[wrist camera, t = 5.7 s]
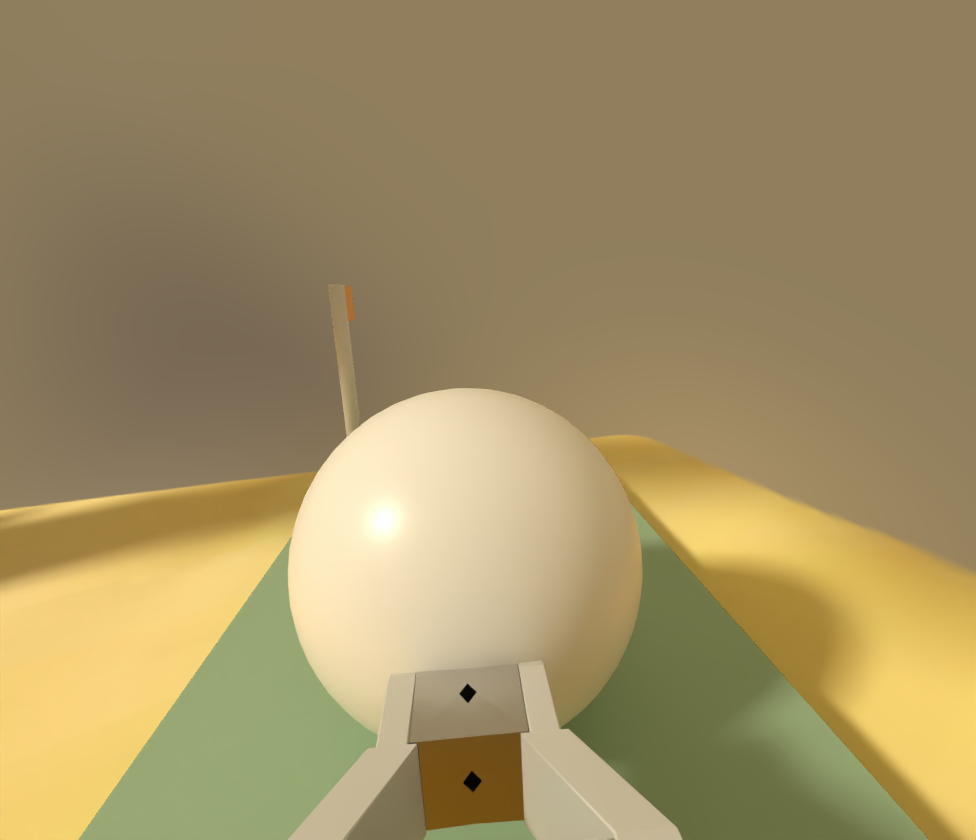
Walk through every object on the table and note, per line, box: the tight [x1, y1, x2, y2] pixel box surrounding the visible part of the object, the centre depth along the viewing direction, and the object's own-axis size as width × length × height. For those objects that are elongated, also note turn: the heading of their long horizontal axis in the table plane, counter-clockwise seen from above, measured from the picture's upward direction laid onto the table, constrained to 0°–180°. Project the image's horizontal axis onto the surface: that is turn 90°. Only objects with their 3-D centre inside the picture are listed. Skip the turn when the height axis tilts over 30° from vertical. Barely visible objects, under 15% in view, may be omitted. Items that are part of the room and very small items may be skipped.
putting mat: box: [79, 284, 929, 840], centre depth 22 cm, size 32×20×16 cm, turn 4°
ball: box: [288, 388, 643, 735], centre depth 14 cm, size 10×10×10 cm
